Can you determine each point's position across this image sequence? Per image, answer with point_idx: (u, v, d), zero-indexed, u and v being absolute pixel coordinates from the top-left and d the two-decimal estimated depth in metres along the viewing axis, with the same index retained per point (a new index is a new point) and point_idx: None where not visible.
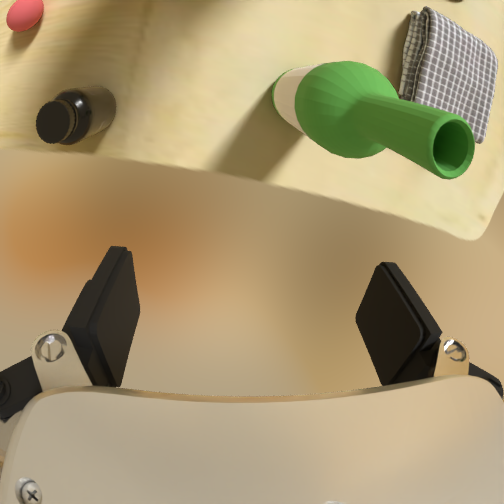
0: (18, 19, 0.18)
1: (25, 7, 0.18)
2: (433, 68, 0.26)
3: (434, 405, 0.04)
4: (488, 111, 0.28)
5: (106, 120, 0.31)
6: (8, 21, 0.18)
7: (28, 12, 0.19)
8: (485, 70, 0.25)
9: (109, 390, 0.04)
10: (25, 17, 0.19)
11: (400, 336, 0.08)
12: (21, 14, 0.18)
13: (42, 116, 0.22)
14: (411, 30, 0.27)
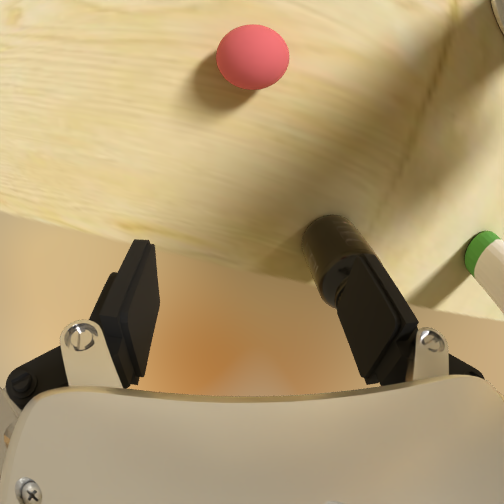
0: (262, 74, 0.19)
1: (279, 58, 0.19)
2: None
3: (434, 405, 0.04)
4: None
5: None
6: (235, 65, 0.19)
7: (280, 69, 0.20)
8: None
9: (109, 390, 0.04)
10: (273, 76, 0.20)
11: (377, 326, 0.09)
12: (270, 68, 0.19)
13: None
14: None
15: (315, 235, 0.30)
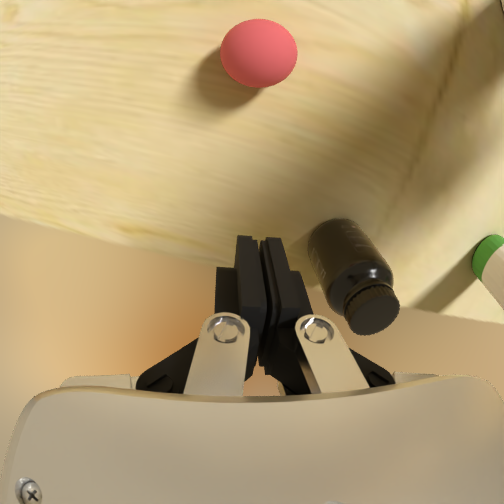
0: (269, 71, 0.18)
1: (287, 54, 0.17)
2: None
3: (434, 405, 0.04)
4: None
5: None
6: (240, 61, 0.17)
7: (288, 66, 0.18)
8: None
9: (109, 390, 0.04)
10: (281, 73, 0.19)
11: None
12: (278, 65, 0.18)
13: (367, 309, 0.22)
14: None
15: (322, 240, 0.29)
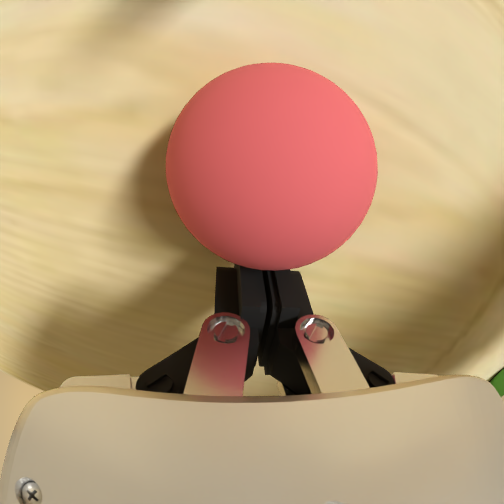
0: (312, 125, 0.05)
1: (353, 104, 0.06)
2: None
3: (434, 405, 0.04)
4: None
5: None
6: (212, 103, 0.06)
7: (366, 142, 0.06)
8: None
9: (109, 390, 0.04)
10: (351, 154, 0.06)
11: None
12: (337, 113, 0.06)
13: None
14: None
15: None
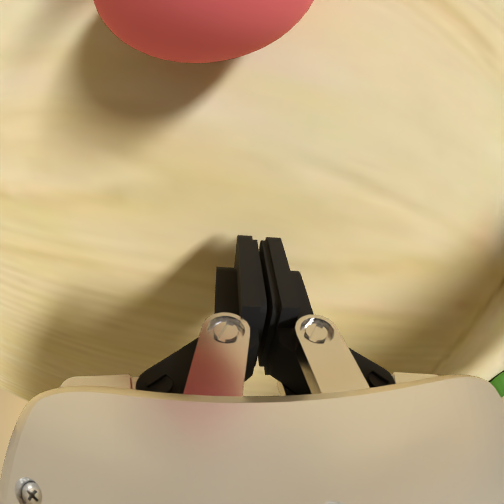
0: None
1: None
2: None
3: (434, 405, 0.04)
4: None
5: None
6: None
7: None
8: None
9: (109, 390, 0.04)
10: None
11: None
12: None
13: None
14: None
15: None
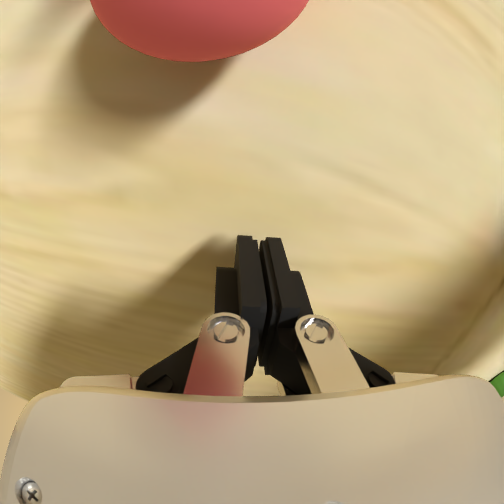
0: None
1: (280, 31, 0.06)
2: None
3: (434, 405, 0.04)
4: None
5: None
6: None
7: None
8: None
9: (109, 390, 0.04)
10: None
11: None
12: None
13: None
14: None
15: None
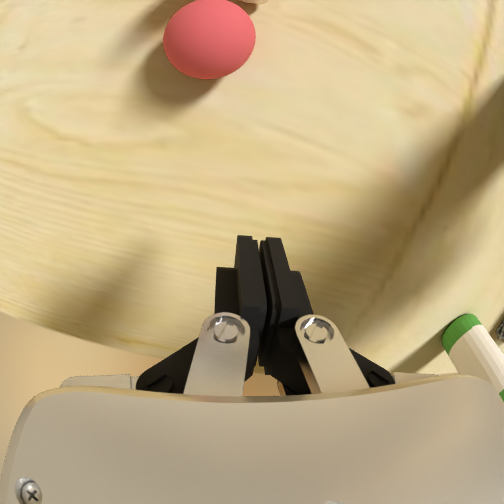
0: None
1: None
2: None
3: (434, 405, 0.04)
4: None
5: None
6: None
7: None
8: None
9: (109, 390, 0.04)
10: None
11: None
12: None
13: None
14: None
15: None
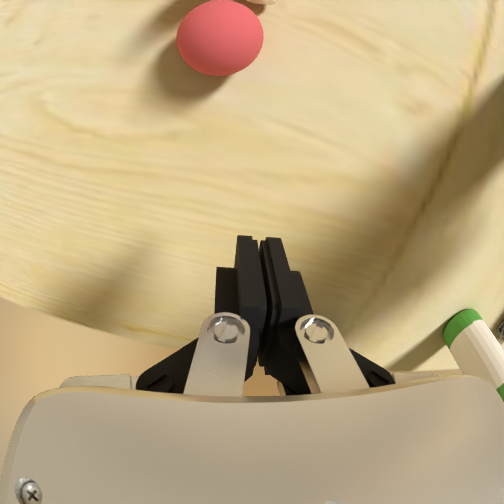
0: None
1: (250, 63, 0.18)
2: None
3: (434, 405, 0.04)
4: None
5: None
6: None
7: None
8: None
9: (109, 390, 0.04)
10: None
11: None
12: None
13: None
14: None
15: None
